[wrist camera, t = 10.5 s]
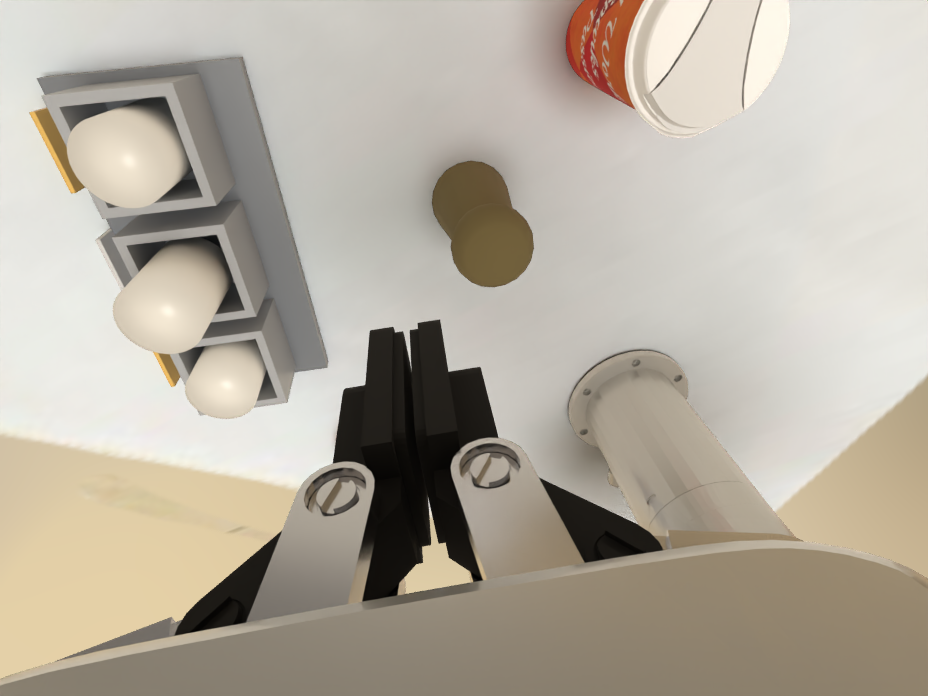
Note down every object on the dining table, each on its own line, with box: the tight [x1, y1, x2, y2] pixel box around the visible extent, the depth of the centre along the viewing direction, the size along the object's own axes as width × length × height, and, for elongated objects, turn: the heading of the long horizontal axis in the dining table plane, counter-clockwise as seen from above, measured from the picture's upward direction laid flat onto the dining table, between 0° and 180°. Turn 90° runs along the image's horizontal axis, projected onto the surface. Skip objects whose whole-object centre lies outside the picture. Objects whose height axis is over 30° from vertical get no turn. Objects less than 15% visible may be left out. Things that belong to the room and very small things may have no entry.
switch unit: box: [29, 57, 328, 415], centre depth 36 cm, size 24×12×6 cm, turn 4°
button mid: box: [113, 237, 233, 354], centre depth 32 cm, size 5×5×7 cm
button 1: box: [67, 97, 193, 208], centre depth 30 cm, size 5×5×7 cm
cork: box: [432, 161, 534, 287], centre depth 35 cm, size 6×6×11 cm
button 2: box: [185, 339, 267, 419], centre depth 39 cm, size 5×5×7 cm
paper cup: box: [566, 0, 790, 138], centre depth 29 cm, size 8×8×14 cm
